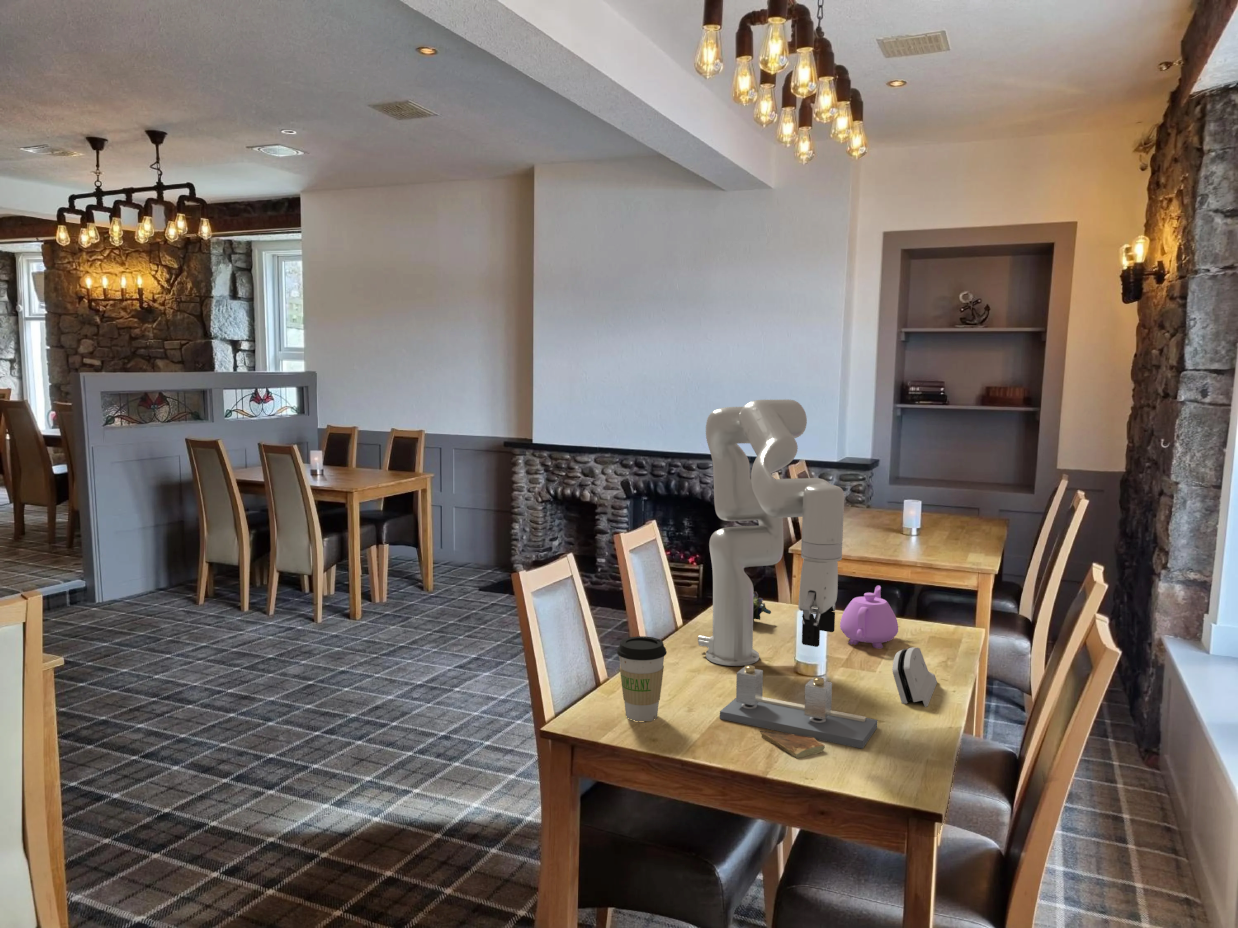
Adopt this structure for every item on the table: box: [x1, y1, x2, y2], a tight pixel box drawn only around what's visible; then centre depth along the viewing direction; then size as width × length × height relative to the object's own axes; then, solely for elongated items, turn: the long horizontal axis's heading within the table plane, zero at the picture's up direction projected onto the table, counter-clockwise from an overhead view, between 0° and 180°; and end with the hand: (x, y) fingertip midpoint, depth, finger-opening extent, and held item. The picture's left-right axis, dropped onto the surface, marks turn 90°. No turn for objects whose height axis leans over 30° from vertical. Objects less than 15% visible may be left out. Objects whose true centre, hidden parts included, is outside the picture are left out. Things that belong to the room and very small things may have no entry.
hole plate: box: [719, 696, 878, 750], centre depth 170 cm, size 28×11×2 cm, turn 60°
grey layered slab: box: [892, 647, 938, 708], centre depth 187 cm, size 17×5×10 cm, turn 153°
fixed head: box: [735, 664, 764, 706], centre depth 175 cm, size 4×4×8 cm
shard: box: [759, 730, 826, 759], centre depth 161 cm, size 11×8×2 cm
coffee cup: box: [616, 635, 667, 722], centre depth 173 cm, size 10×10×15 cm
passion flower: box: [753, 591, 772, 622], centre depth 237 cm, size 11×11×12 cm
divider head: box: [804, 676, 833, 720], centre depth 168 cm, size 4×4×8 cm
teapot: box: [839, 585, 899, 649], centre depth 222 cm, size 20×14×12 cm
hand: (818, 637), depth 167 cm, fingers open, 9 cm apart
